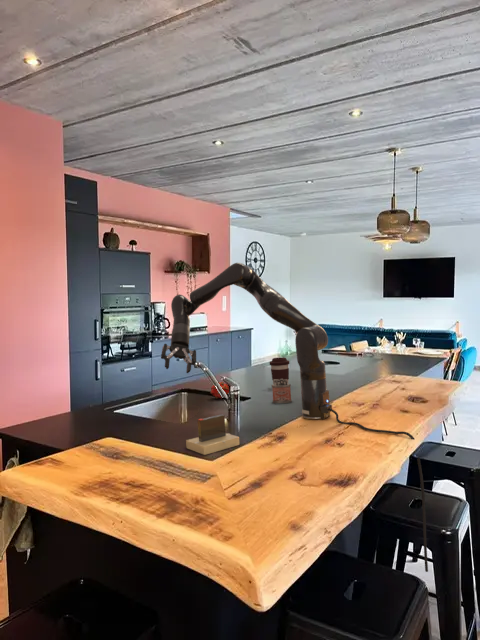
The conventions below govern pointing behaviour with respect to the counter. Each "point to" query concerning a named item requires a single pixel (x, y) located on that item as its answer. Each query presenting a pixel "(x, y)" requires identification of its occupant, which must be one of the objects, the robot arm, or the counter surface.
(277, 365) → the coffee cup
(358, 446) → the counter surface
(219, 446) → the beige square slab
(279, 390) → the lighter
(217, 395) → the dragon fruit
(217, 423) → the dark brown block
